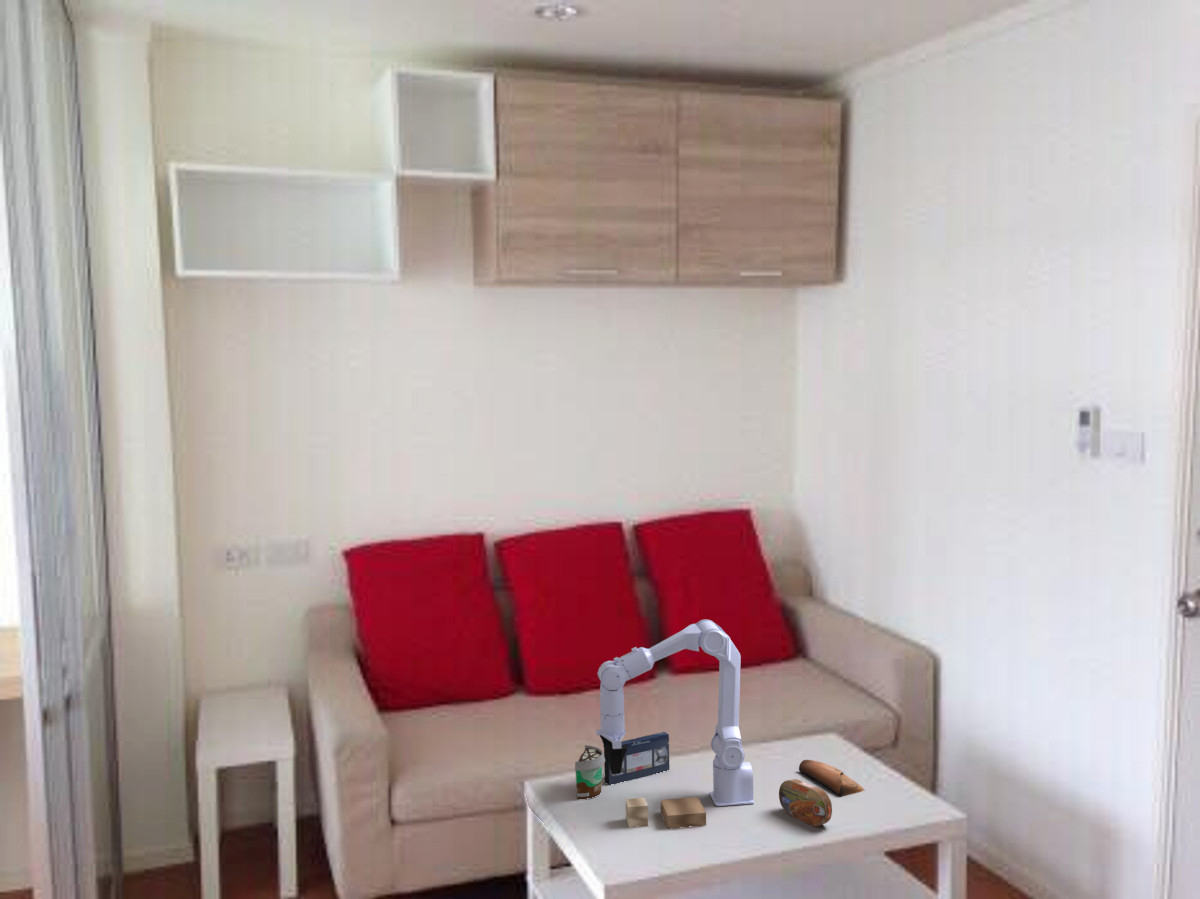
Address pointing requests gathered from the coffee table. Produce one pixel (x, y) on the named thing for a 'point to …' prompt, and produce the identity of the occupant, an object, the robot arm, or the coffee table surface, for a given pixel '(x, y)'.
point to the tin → (805, 802)
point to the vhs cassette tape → (641, 758)
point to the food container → (589, 772)
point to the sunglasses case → (830, 777)
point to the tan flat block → (683, 812)
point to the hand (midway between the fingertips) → (613, 767)
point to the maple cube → (636, 812)
